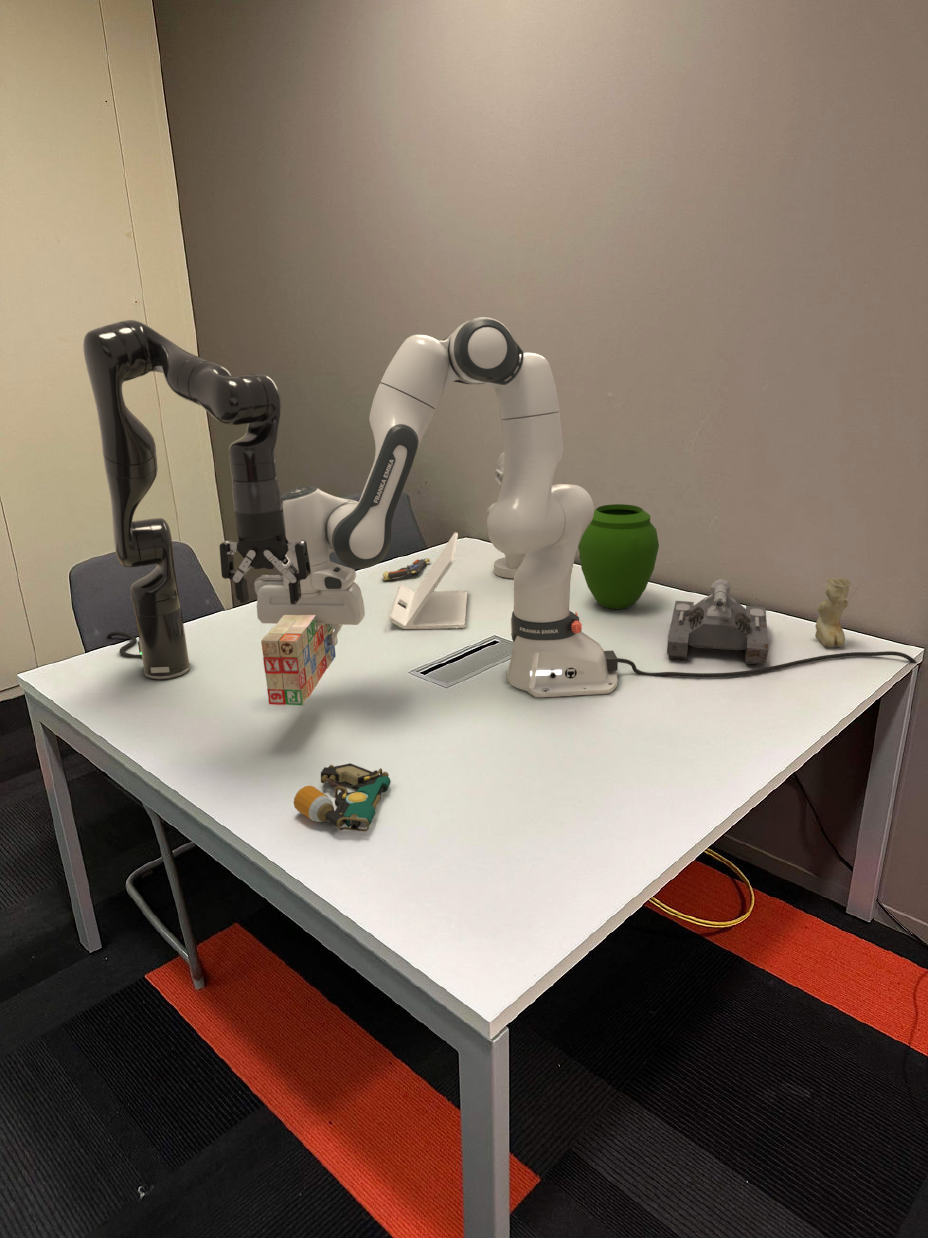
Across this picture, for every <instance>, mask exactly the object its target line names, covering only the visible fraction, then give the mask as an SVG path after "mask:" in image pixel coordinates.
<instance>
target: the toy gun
mask: <svg viewBox="0 0 928 1238" xmlns="http://www.w3.org/2000/svg"><path fill="white" fill-rule="evenodd" d="M430 562H431V558H421V559H415V560H413V562H412V564H410V565H408V564H407V565H406V567H401V568H399V569H397V570H393V571H384V572H383V573H382V577H383V581H389V580H393V579H397V578H401V577H405V576H407V575H414V574H418V573H419V572H420V571H421V570H423V567H424V566H426V565H427V564H428V563H430Z"/></svg>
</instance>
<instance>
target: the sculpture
mask: <svg viewBox="0 0 928 1238" xmlns="http://www.w3.org/2000/svg"><path fill="white" fill-rule="evenodd" d="M826 581H827V586H826V588H825V590H824V593H825V595H826V596H827V598H826V600H824V601H822V602H821V603H820V604H819V605H818V606H817V609H816V610H817V612H818V614H819V616H818V617H817V619H816V623H815V630H816V631H815V634H814V635H815V639H817V640H819V642H820V643H821V644H822V645H823V646H825V647H827V648H832V647H834V646H835V647H843V646H844V645H845V643H846V642H845V641H846V636H845V632H844V630H843V626H842V624H841V622H840V621H841V617H842V615H843V612H844V610H845V609H846V608H847V606H848V604H849V603H848V602H849V601H847V598H848V597H849V592H850V586H851V585H852V582H850V580H848V579H847V578H845V577H841V576H840V577H835V578H831V577H827V578H826Z"/></svg>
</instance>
